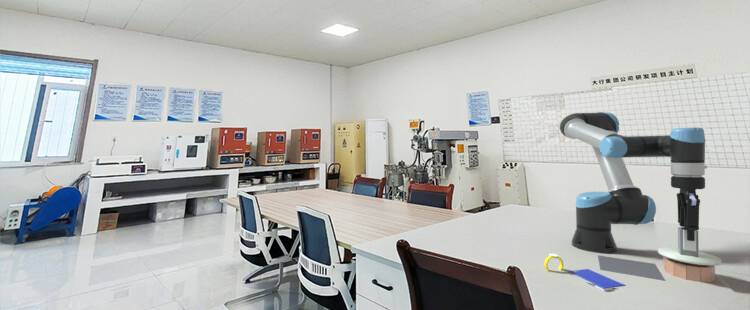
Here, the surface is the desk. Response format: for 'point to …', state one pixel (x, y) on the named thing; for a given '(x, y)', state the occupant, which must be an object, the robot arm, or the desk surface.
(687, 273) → the bowl
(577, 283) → the desk surface
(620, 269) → the mat
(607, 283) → the hard drive
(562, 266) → the yellow curved ring
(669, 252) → the lid
